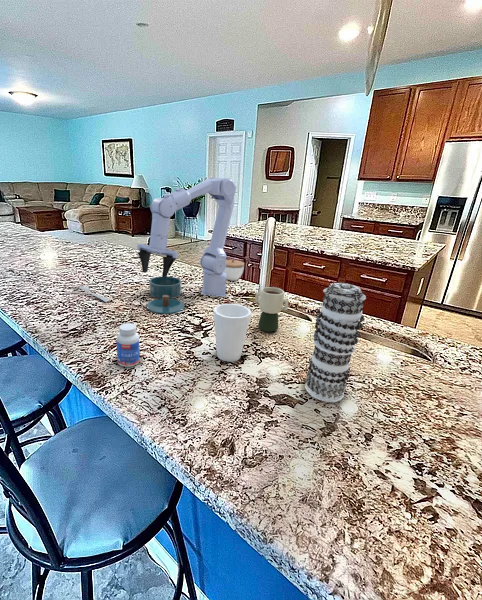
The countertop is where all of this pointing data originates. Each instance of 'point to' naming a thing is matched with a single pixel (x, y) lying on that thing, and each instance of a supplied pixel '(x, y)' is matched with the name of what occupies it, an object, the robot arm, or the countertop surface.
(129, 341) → the pill bottle
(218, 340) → the foam cup
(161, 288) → the bowl
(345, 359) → the leaning tower model
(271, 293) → the character mug
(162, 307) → the lid
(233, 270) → the trinket box
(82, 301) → the countertop surface
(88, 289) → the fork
